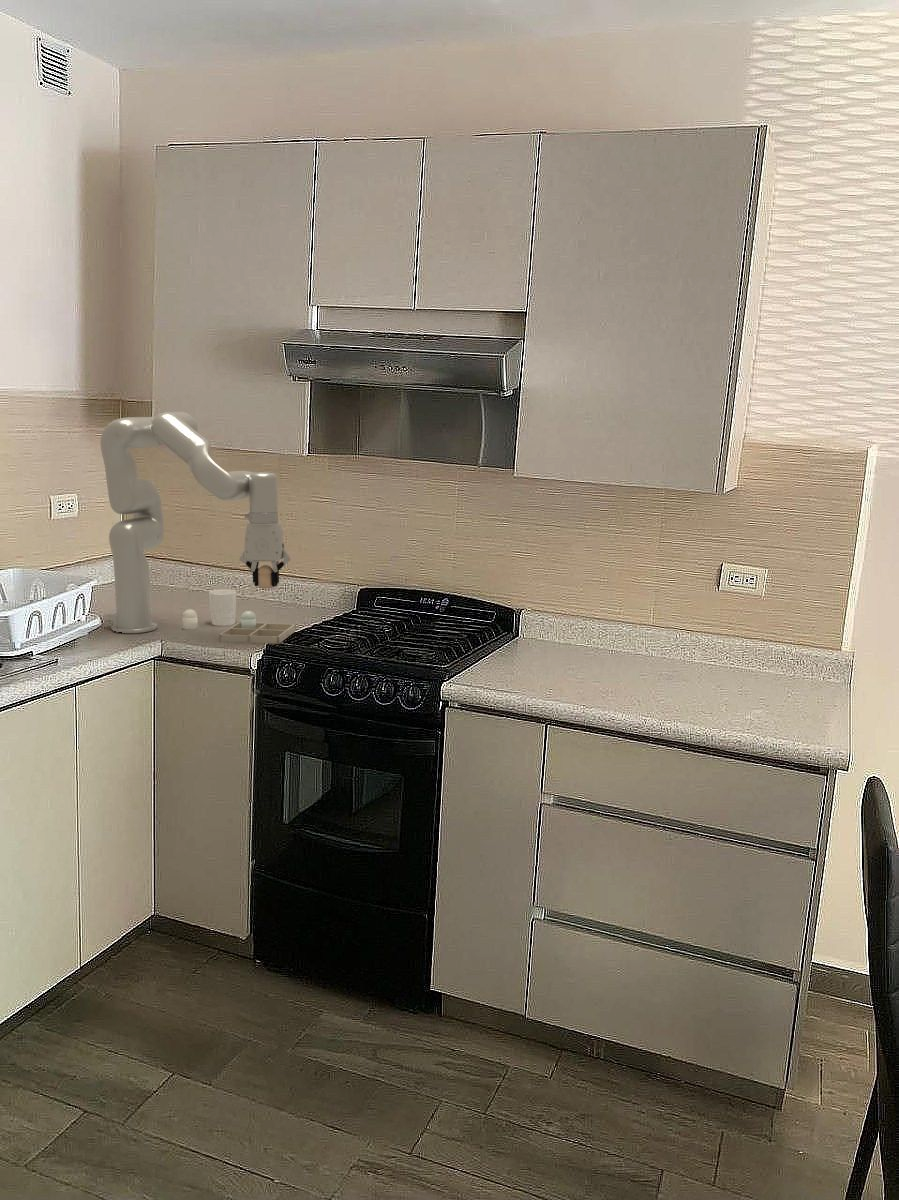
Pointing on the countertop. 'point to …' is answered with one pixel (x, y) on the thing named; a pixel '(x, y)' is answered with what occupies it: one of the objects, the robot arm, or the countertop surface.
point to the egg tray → (258, 633)
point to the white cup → (222, 607)
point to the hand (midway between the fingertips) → (266, 585)
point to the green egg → (248, 620)
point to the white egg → (190, 620)
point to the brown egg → (265, 577)
